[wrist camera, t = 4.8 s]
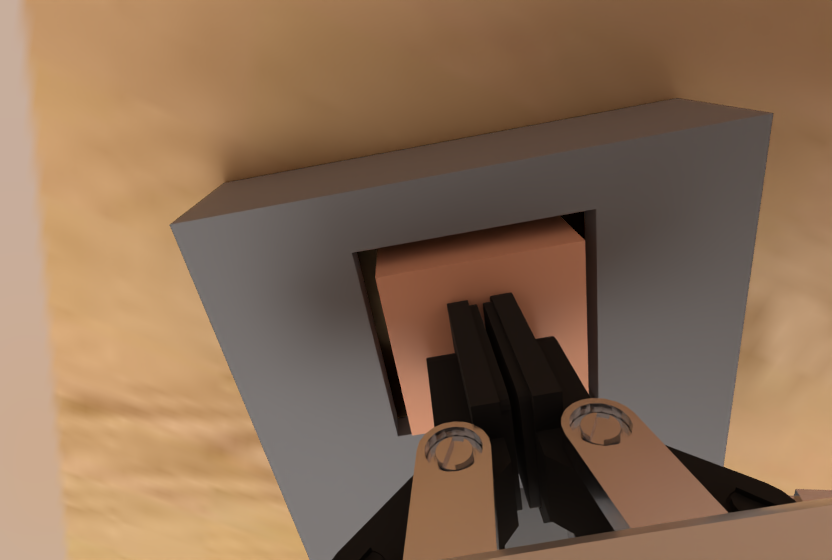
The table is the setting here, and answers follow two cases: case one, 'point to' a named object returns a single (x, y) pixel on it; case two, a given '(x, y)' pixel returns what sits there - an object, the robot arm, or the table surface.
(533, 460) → the robot arm
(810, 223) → the table surface
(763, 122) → the button panel
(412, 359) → the terracotta button
